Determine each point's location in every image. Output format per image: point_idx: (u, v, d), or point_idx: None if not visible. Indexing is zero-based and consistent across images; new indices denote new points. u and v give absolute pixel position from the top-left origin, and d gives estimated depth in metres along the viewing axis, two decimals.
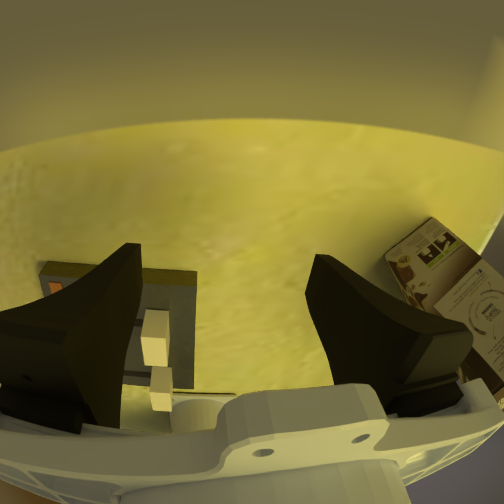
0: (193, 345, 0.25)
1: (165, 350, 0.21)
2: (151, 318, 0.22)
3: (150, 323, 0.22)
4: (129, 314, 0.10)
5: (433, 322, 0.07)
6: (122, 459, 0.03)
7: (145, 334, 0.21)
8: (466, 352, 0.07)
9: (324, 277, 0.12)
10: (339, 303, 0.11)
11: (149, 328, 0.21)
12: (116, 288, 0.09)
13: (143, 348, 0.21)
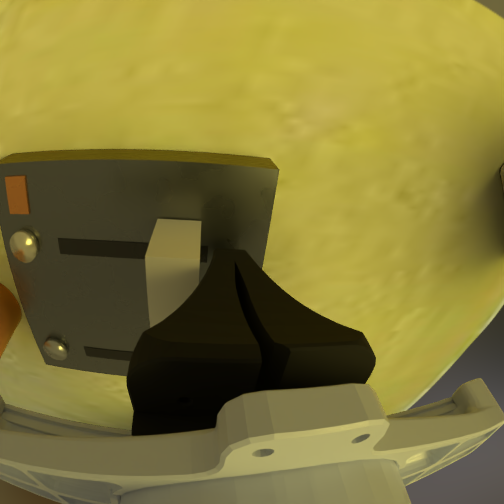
0: None
1: None
2: (168, 230, 0.11)
3: (166, 236, 0.11)
4: None
5: (315, 330, 0.06)
6: (122, 459, 0.03)
7: (155, 252, 0.10)
8: (368, 370, 0.06)
9: None
10: (239, 302, 0.10)
11: (164, 243, 0.11)
12: None
13: (149, 287, 0.10)
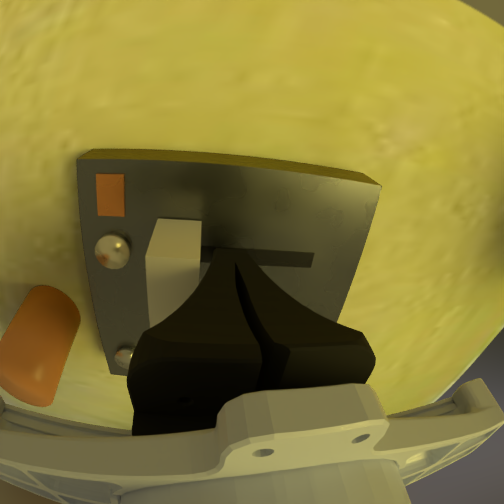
0: (344, 299, 0.16)
1: None
2: (168, 229, 0.11)
3: (166, 236, 0.11)
4: None
5: (315, 330, 0.06)
6: (122, 459, 0.03)
7: (156, 252, 0.10)
8: (368, 371, 0.06)
9: None
10: None
11: (164, 243, 0.11)
12: None
13: (149, 287, 0.10)
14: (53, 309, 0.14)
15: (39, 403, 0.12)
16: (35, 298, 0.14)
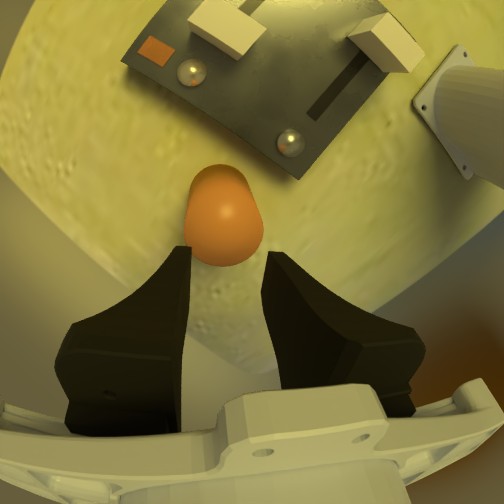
0: None
1: (233, 7, 0.11)
2: None
3: None
4: (185, 318, 0.11)
5: (374, 327, 0.07)
6: (122, 459, 0.03)
7: None
8: (418, 363, 0.06)
9: (274, 275, 0.11)
10: (285, 303, 0.10)
11: None
12: (181, 292, 0.09)
13: (209, 31, 0.11)
14: (210, 172, 0.18)
15: (255, 238, 0.16)
16: (192, 185, 0.19)
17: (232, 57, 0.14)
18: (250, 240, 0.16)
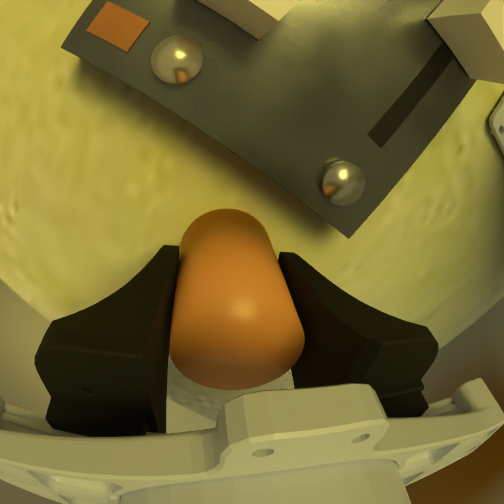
0: None
1: None
2: None
3: None
4: (171, 317, 0.10)
5: (390, 326, 0.07)
6: (122, 459, 0.03)
7: None
8: (431, 360, 0.07)
9: (286, 276, 0.11)
10: (298, 303, 0.10)
11: None
12: (165, 291, 0.09)
13: None
14: (211, 228, 0.12)
15: (290, 355, 0.09)
16: (184, 245, 0.12)
17: (250, 33, 0.08)
18: (281, 358, 0.09)
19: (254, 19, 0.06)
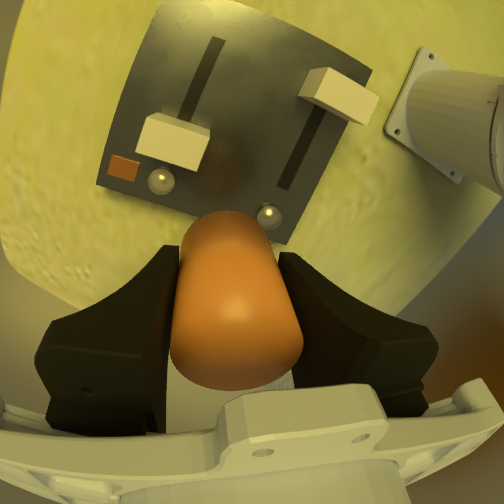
0: (274, 18, 0.14)
1: (171, 126, 0.13)
2: None
3: None
4: (171, 317, 0.10)
5: (390, 326, 0.07)
6: (122, 459, 0.03)
7: None
8: (431, 360, 0.07)
9: (286, 276, 0.11)
10: (298, 303, 0.10)
11: None
12: (165, 291, 0.09)
13: (158, 157, 0.14)
14: (210, 230, 0.12)
15: (289, 357, 0.09)
16: (183, 248, 0.12)
17: None
18: (280, 360, 0.09)
19: None
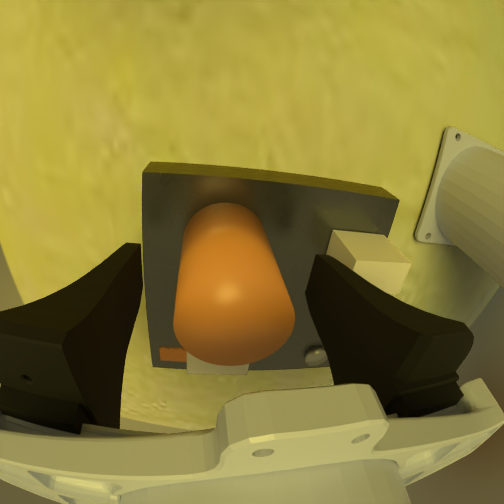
0: (280, 184, 0.14)
1: None
2: None
3: None
4: (129, 314, 0.10)
5: (433, 322, 0.07)
6: (122, 459, 0.03)
7: (187, 365, 0.15)
8: (466, 352, 0.07)
9: (324, 277, 0.12)
10: (339, 303, 0.11)
11: None
12: (116, 288, 0.09)
13: (210, 373, 0.15)
14: (207, 220, 0.13)
15: (283, 329, 0.10)
16: (185, 238, 0.13)
17: None
18: (275, 332, 0.10)
19: None
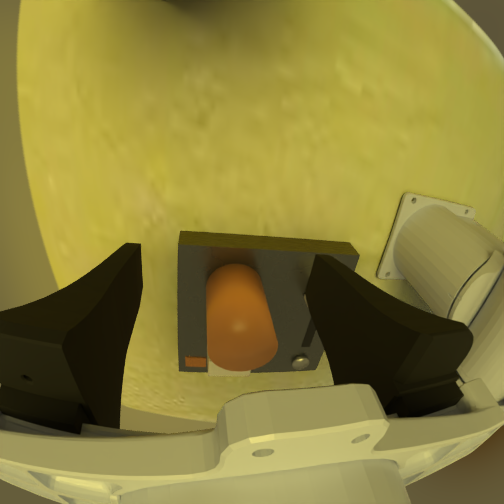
0: (272, 251, 0.21)
1: None
2: (207, 352, 0.24)
3: (207, 357, 0.23)
4: (129, 314, 0.10)
5: (433, 322, 0.07)
6: (122, 459, 0.03)
7: (208, 370, 0.22)
8: (466, 352, 0.07)
9: (324, 277, 0.12)
10: (339, 303, 0.11)
11: None
12: (116, 288, 0.09)
13: (224, 375, 0.22)
14: (224, 279, 0.20)
15: (271, 350, 0.17)
16: (208, 289, 0.20)
17: None
18: (266, 352, 0.17)
19: None
